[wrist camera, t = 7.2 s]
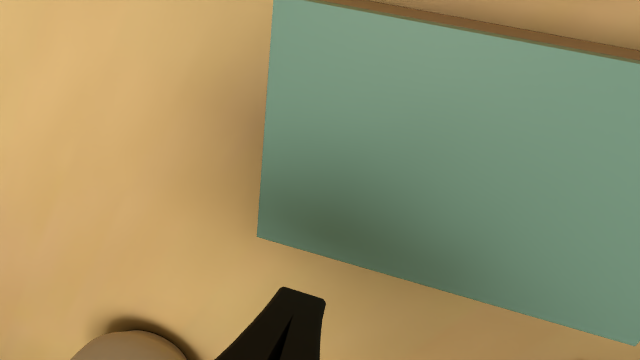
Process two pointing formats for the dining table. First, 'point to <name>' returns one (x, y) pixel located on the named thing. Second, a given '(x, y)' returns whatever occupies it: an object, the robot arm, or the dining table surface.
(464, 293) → the lid
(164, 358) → the teacup
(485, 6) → the dining table surface
